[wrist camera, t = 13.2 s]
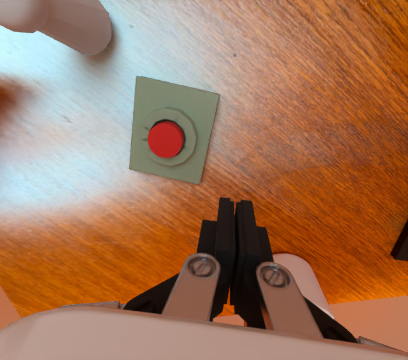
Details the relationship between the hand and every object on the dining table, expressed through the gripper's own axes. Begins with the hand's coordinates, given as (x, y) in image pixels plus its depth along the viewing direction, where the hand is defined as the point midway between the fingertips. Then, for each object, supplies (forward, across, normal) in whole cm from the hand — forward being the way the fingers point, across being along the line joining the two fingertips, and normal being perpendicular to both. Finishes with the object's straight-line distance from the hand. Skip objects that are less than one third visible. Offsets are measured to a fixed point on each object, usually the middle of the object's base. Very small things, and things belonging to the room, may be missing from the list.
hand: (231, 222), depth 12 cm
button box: (+21, +8, +1) cm, 22 cm away
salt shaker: (+21, +17, -11) cm, 29 cm away
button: (+17, +8, +1) cm, 19 cm away
